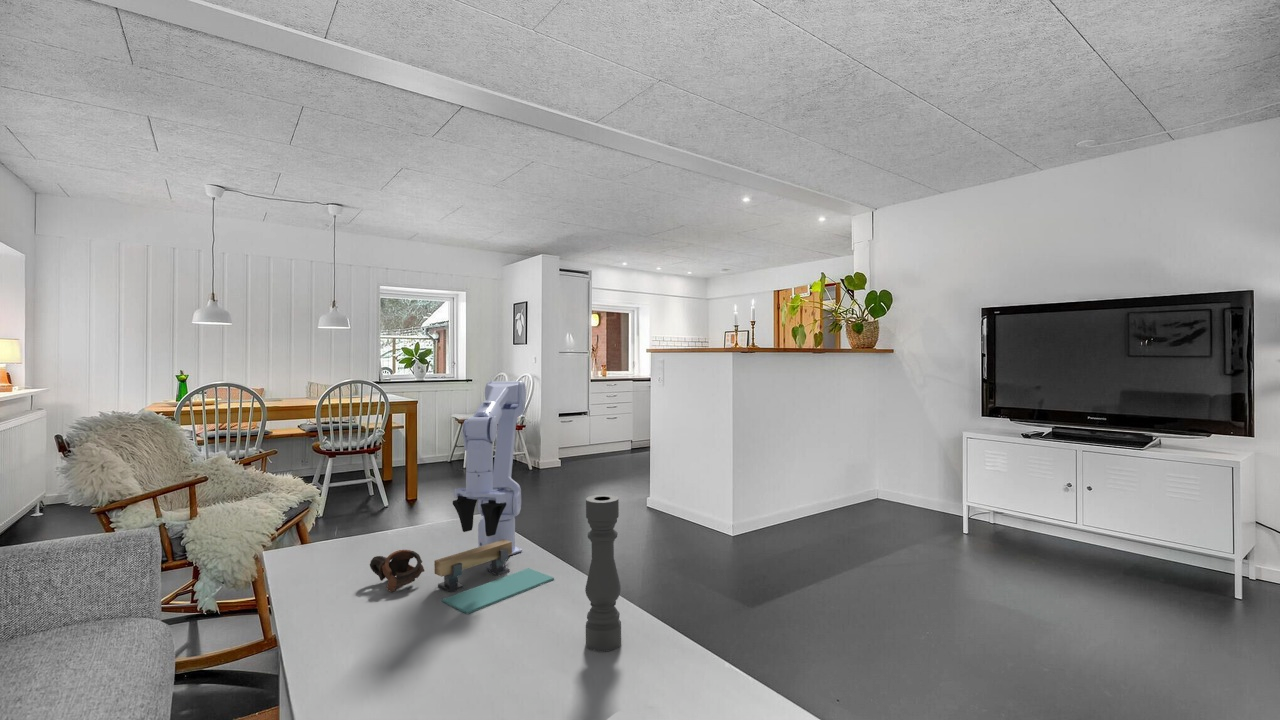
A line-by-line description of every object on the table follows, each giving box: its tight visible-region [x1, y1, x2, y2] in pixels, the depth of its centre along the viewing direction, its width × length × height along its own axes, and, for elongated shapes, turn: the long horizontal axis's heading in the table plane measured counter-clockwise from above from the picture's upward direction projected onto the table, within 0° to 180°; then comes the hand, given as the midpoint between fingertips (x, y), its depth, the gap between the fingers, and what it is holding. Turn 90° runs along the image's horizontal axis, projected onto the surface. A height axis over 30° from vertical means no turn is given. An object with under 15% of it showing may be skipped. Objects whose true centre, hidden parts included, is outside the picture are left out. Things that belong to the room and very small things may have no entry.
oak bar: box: [434, 539, 513, 578], centre depth 128 cm, size 3×18×3 cm, turn 139°
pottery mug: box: [369, 549, 425, 593], centre depth 125 cm, size 12×10×8 cm
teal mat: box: [441, 567, 555, 615], centre depth 122 cm, size 9×22×1 cm, turn 139°
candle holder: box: [584, 494, 622, 653], centre depth 99 cm, size 6×6×25 cm
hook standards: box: [438, 548, 510, 593], centre depth 128 cm, size 6×15×6 cm, turn 139°
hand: (478, 533), depth 126 cm, fingers open, 7 cm apart
